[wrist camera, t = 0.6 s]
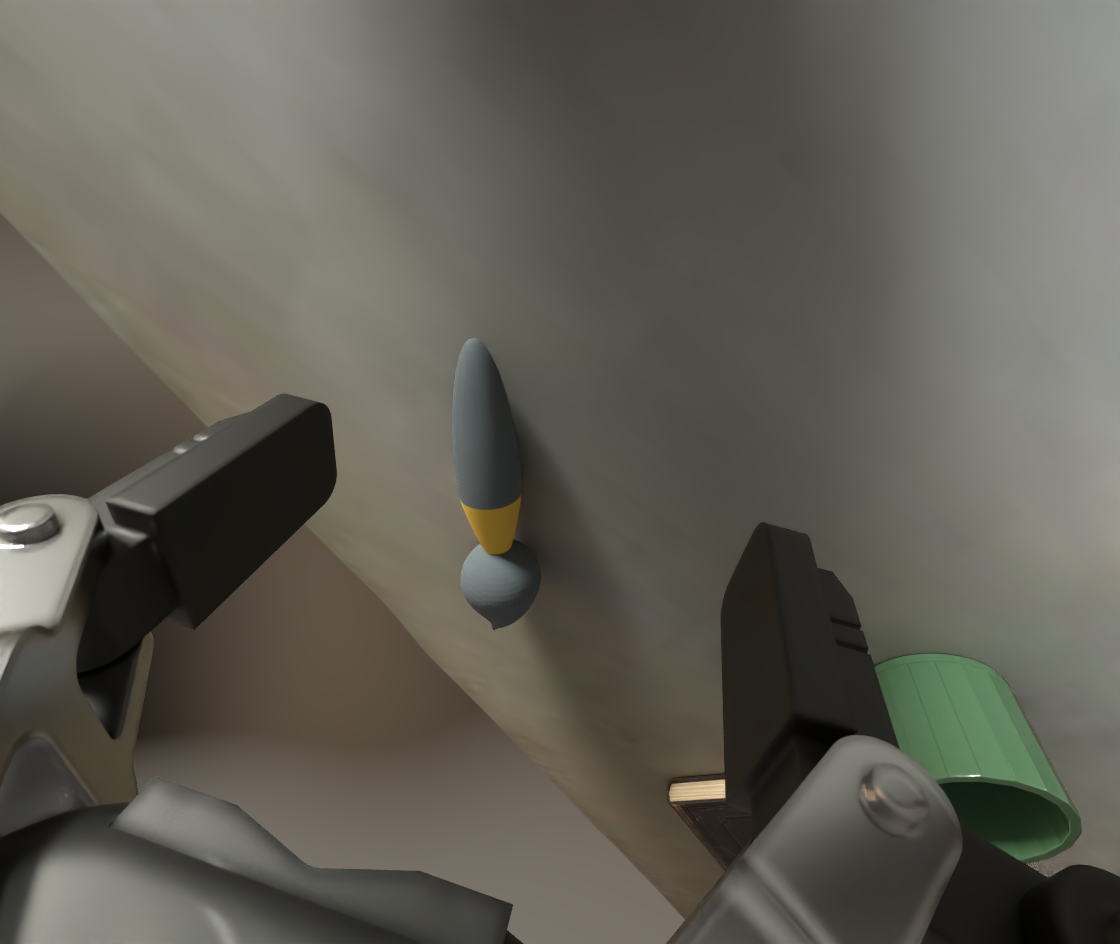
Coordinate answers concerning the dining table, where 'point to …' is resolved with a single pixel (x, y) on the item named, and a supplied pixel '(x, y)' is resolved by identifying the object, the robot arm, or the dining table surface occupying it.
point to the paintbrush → (490, 491)
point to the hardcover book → (711, 815)
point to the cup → (980, 752)
